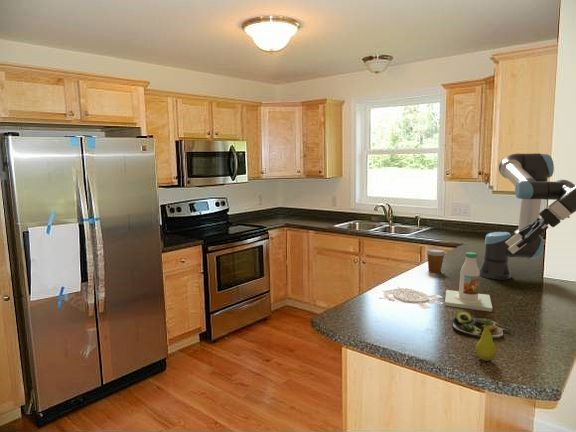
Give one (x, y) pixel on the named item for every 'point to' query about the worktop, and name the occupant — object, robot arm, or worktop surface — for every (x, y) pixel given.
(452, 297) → the locating board
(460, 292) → the milk bottle
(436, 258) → the disposable coffee cup
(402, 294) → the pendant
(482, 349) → the fruit
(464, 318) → the salad plate
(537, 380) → the worktop surface
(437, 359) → the worktop surface
